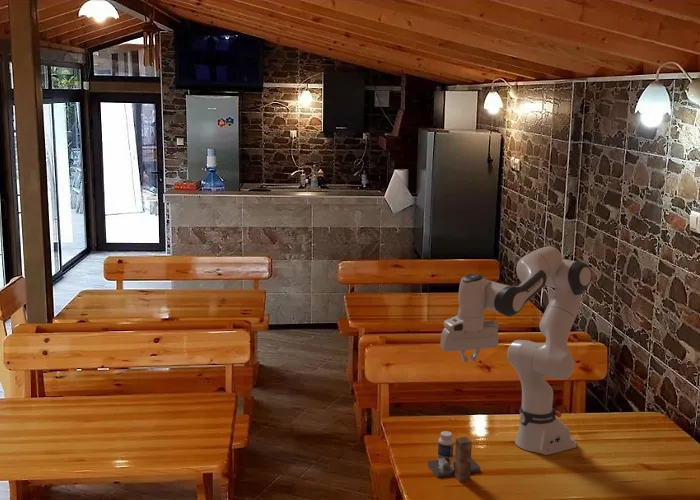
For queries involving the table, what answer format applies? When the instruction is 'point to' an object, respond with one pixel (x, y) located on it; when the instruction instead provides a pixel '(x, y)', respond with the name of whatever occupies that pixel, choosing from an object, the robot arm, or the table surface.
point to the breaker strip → (448, 466)
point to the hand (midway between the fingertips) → (468, 361)
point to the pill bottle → (445, 445)
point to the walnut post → (463, 458)
